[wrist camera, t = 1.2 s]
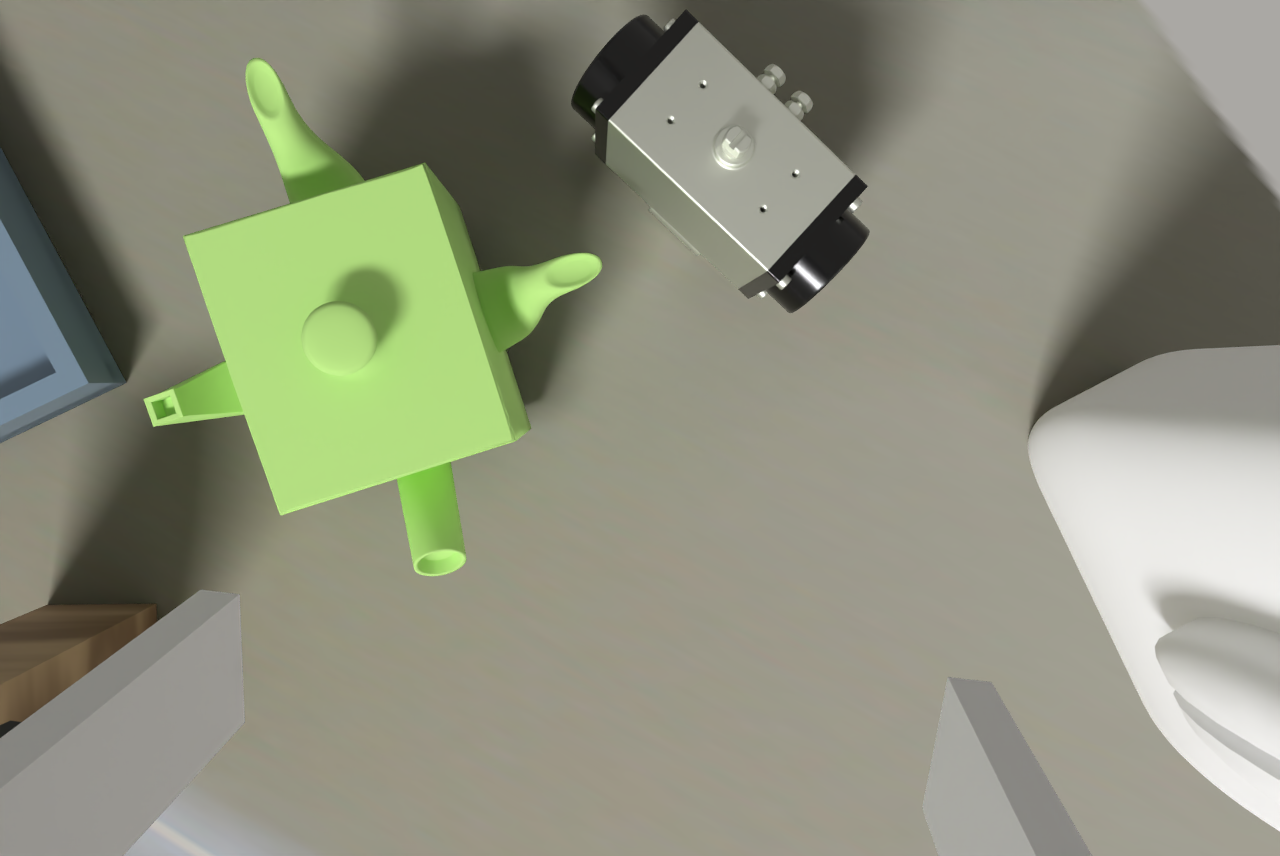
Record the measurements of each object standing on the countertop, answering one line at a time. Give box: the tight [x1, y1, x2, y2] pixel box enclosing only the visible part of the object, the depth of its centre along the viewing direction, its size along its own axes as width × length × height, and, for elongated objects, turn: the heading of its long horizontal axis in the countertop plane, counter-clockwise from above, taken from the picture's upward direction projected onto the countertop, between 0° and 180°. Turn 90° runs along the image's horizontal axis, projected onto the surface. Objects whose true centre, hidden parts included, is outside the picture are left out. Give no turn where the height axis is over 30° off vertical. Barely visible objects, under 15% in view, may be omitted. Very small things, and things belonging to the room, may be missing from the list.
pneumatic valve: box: [571, 10, 870, 313], centre depth 35 cm, size 6×12×12 cm, turn 47°
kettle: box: [144, 58, 602, 576], centre depth 35 cm, size 15×14×11 cm
